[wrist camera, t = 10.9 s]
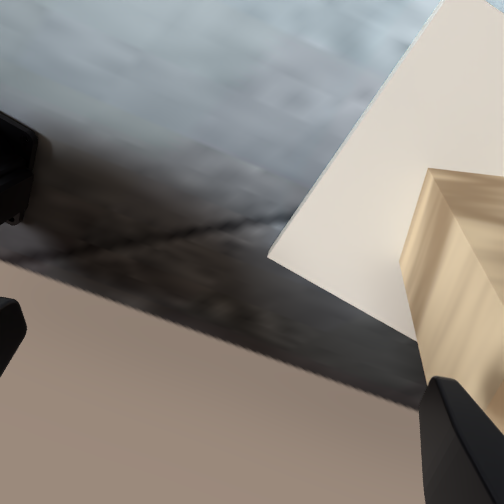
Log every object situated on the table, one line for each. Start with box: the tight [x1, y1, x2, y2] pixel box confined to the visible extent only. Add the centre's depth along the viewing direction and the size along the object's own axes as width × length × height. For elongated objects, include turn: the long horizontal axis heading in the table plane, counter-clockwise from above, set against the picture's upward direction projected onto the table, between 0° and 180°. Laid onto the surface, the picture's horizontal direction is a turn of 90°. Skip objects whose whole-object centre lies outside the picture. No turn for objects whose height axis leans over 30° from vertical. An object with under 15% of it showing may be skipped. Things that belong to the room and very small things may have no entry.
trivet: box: [267, 0, 504, 341], centre depth 19 cm, size 14×14×1 cm
